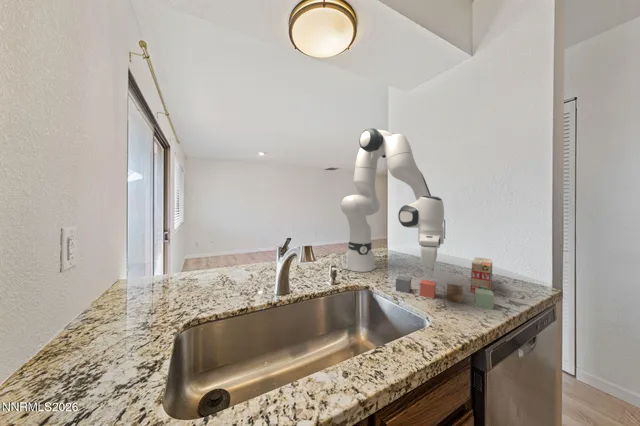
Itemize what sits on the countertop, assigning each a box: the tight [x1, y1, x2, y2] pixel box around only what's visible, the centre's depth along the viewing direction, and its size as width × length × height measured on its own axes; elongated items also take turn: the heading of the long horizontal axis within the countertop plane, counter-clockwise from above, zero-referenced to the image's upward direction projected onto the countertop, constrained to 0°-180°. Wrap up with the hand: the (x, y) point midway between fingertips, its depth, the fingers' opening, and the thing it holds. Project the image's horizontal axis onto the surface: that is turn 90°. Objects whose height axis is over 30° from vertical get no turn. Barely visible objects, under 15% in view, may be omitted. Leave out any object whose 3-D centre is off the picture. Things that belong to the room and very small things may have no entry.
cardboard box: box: [469, 257, 493, 294], centre depth 102 cm, size 21×6×12 cm, turn 142°
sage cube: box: [474, 288, 495, 310], centre depth 83 cm, size 5×5×5 cm
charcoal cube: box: [395, 275, 412, 294], centre depth 97 cm, size 5×5×5 cm
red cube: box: [419, 279, 437, 299], centre depth 92 cm, size 5×5×5 cm
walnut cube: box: [445, 283, 464, 305], centre depth 88 cm, size 5×5×5 cm
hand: (430, 273), depth 91 cm, fingers open, 8 cm apart
